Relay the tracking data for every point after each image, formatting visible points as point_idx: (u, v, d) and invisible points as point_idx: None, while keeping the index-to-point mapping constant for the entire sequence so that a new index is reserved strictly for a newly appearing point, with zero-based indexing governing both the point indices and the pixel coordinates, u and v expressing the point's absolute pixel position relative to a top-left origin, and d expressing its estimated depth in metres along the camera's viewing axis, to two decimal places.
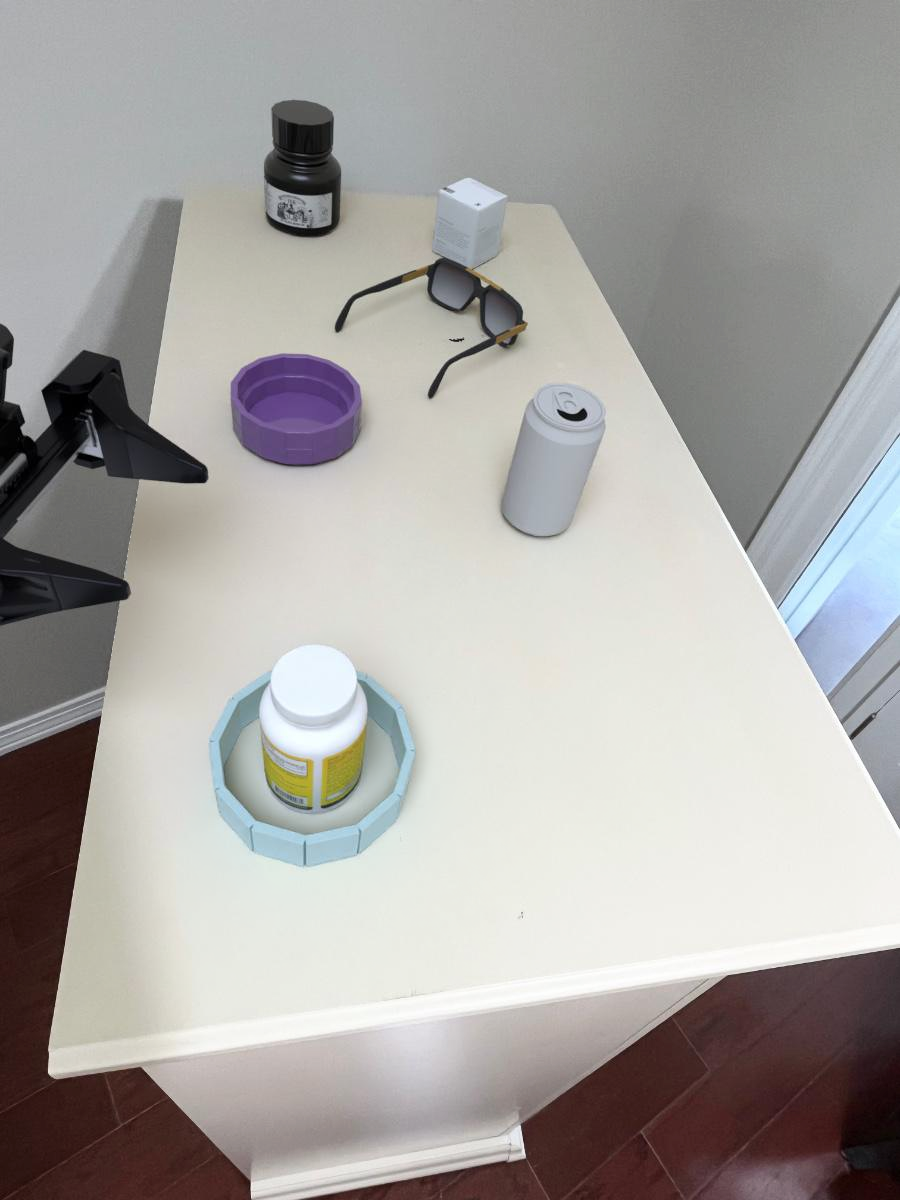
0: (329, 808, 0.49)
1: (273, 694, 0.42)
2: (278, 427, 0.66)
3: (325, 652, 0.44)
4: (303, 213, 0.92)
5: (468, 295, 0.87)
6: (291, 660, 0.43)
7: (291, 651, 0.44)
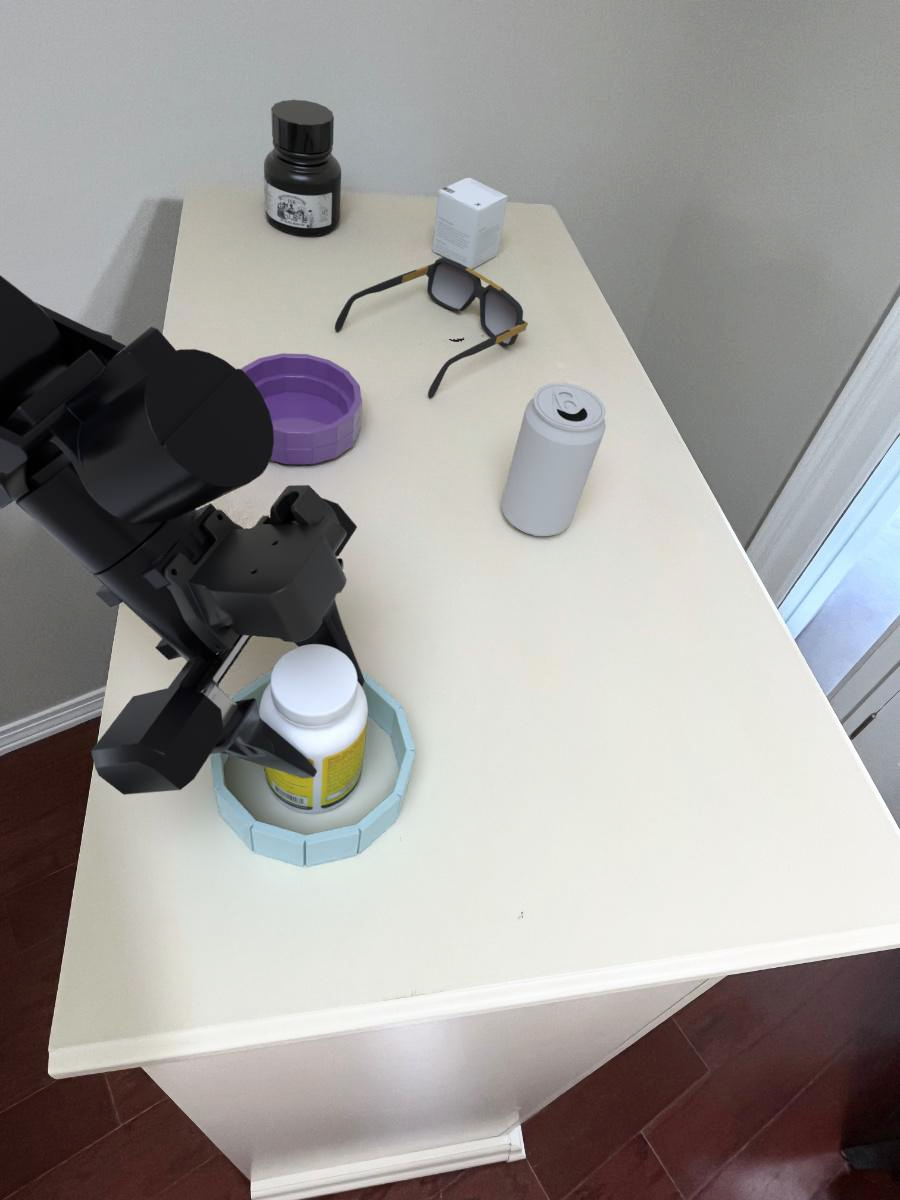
0: (329, 808, 0.49)
1: (273, 694, 0.42)
2: (278, 427, 0.66)
3: (325, 652, 0.44)
4: (303, 213, 0.92)
5: (468, 295, 0.87)
6: (291, 659, 0.43)
7: (291, 651, 0.44)
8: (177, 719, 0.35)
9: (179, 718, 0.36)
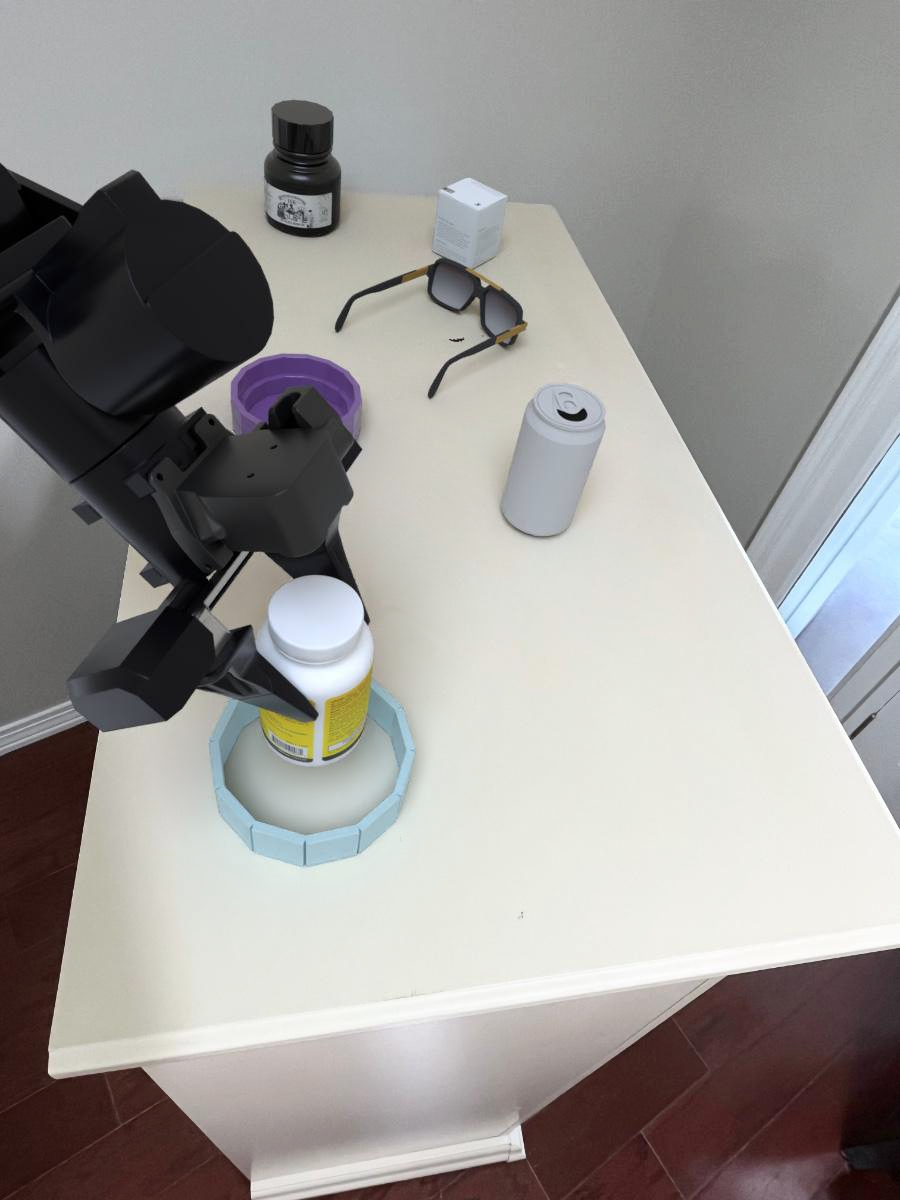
0: (331, 761, 0.45)
1: (270, 626, 0.38)
2: None
3: (328, 583, 0.40)
4: (303, 213, 0.92)
5: (468, 295, 0.87)
6: (290, 590, 0.39)
7: (291, 581, 0.40)
8: (163, 641, 0.31)
9: (165, 640, 0.31)
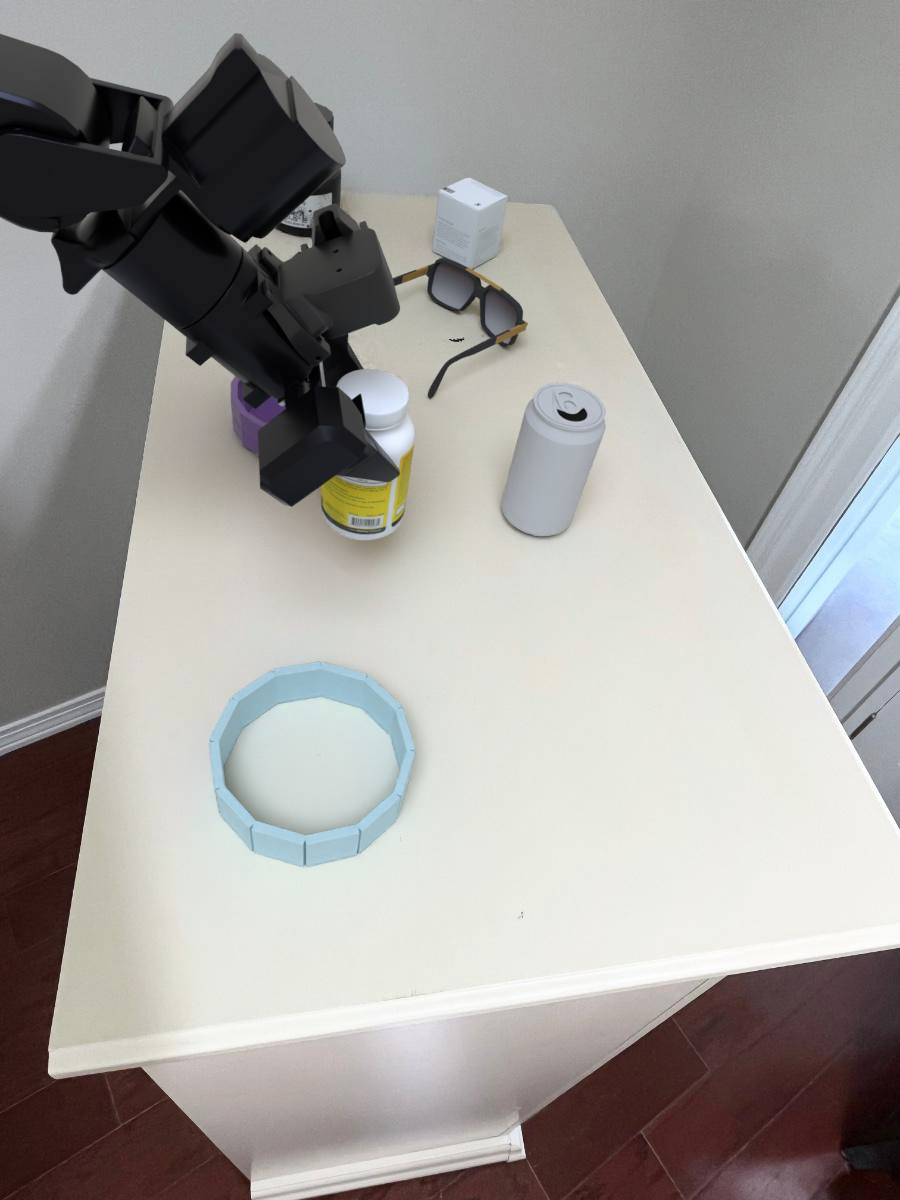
0: (395, 527, 0.57)
1: None
2: None
3: (366, 373, 0.51)
4: (303, 213, 0.92)
5: (468, 295, 0.87)
6: (346, 384, 0.50)
7: (341, 379, 0.50)
8: (332, 405, 0.42)
9: (333, 404, 0.42)
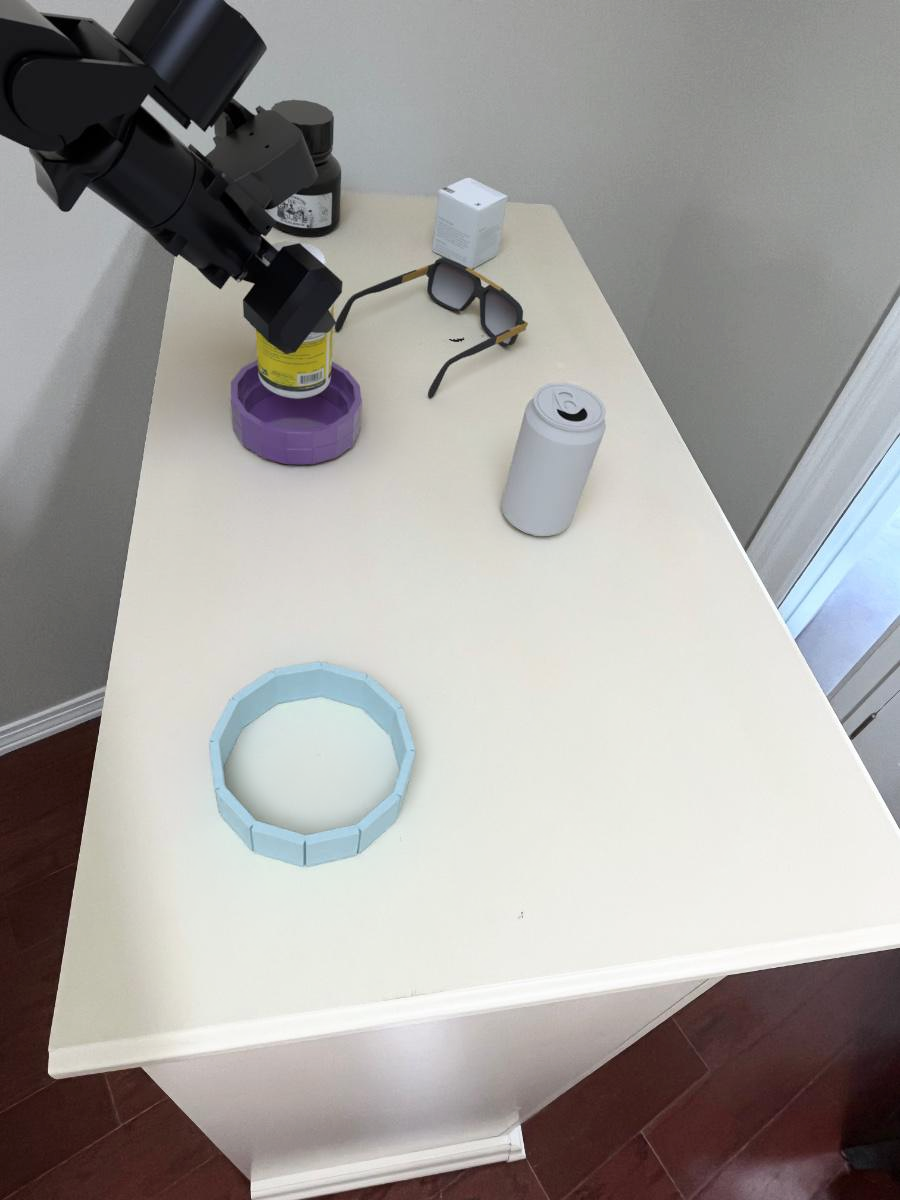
0: None
1: None
2: (278, 427, 0.66)
3: (279, 245, 0.60)
4: (303, 213, 0.92)
5: (468, 295, 0.87)
6: None
7: None
8: (306, 255, 0.52)
9: (306, 255, 0.52)
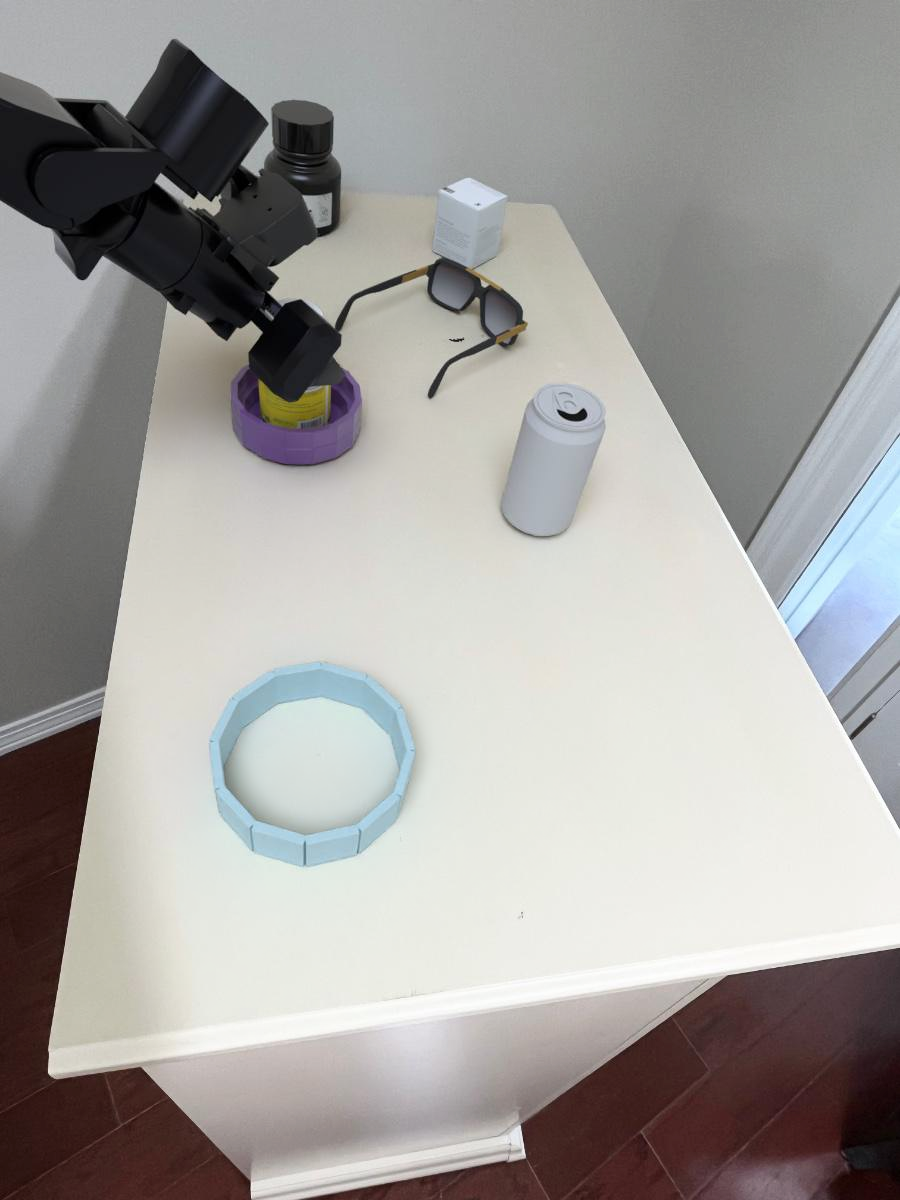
0: None
1: None
2: (278, 427, 0.66)
3: None
4: None
5: (468, 295, 0.87)
6: None
7: None
8: (307, 312, 0.55)
9: (307, 311, 0.55)
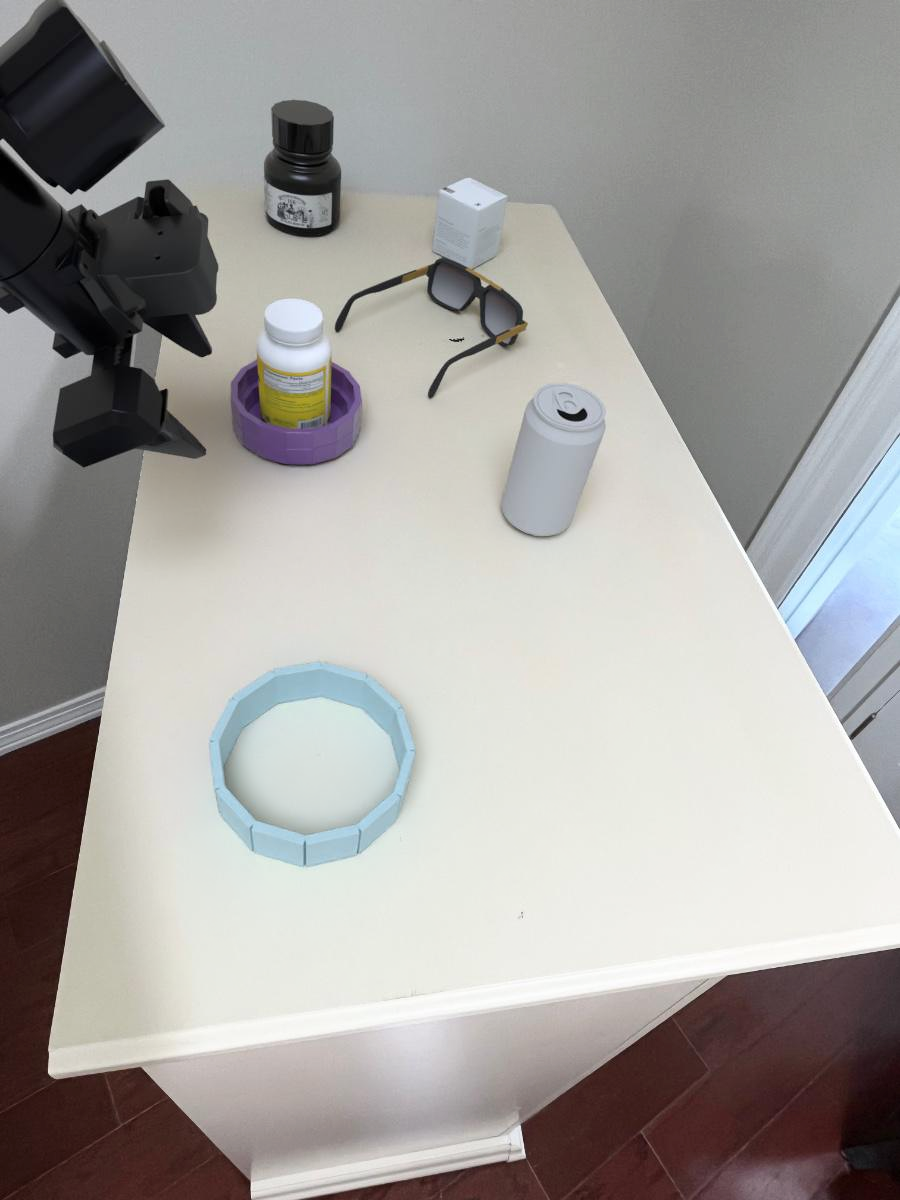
0: None
1: (288, 332, 0.62)
2: (278, 427, 0.66)
3: (279, 303, 0.64)
4: (303, 213, 0.92)
5: (468, 295, 0.87)
6: (272, 315, 0.63)
7: (265, 313, 0.63)
8: (131, 389, 0.45)
9: (132, 388, 0.45)
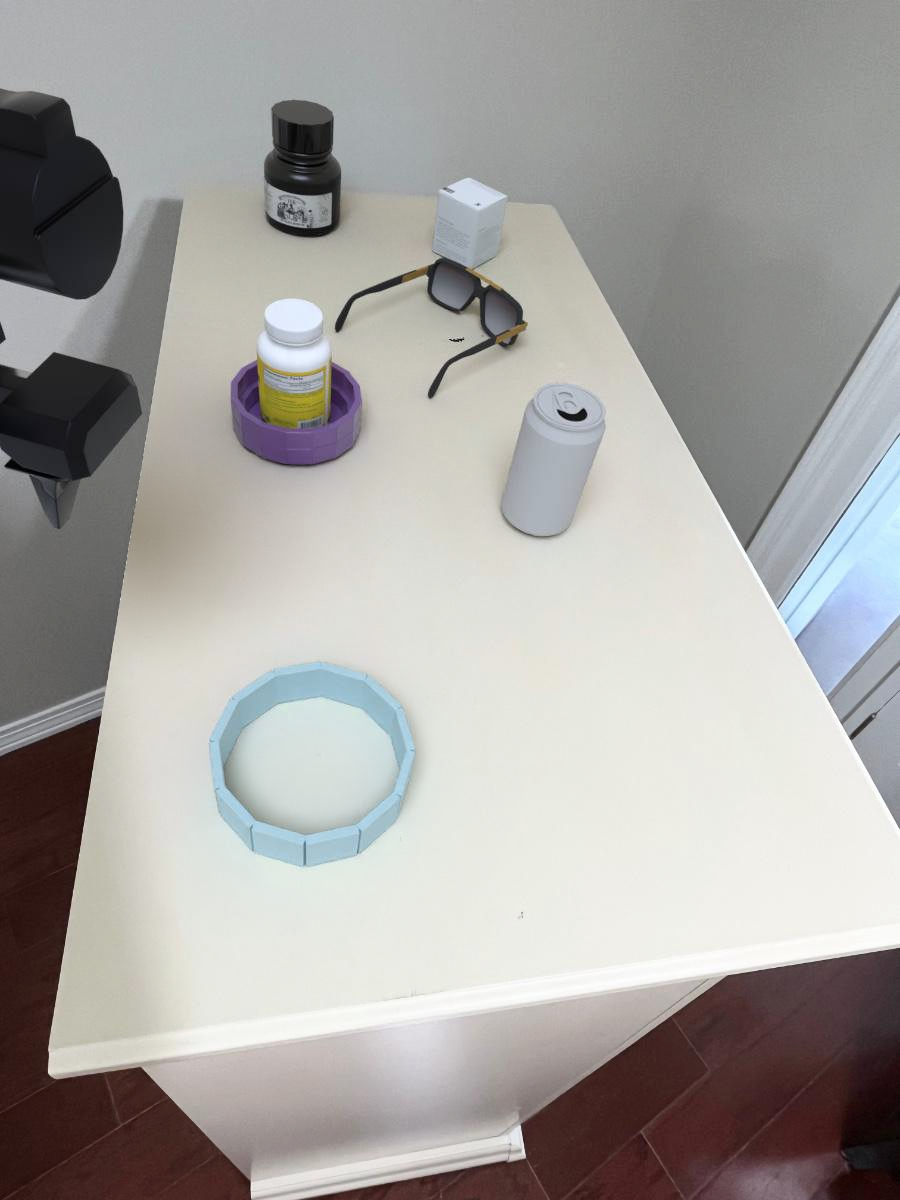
0: None
1: (288, 332, 0.62)
2: (278, 427, 0.66)
3: (279, 303, 0.64)
4: (303, 213, 0.92)
5: (468, 295, 0.87)
6: (272, 315, 0.63)
7: (265, 313, 0.63)
8: None
9: None
